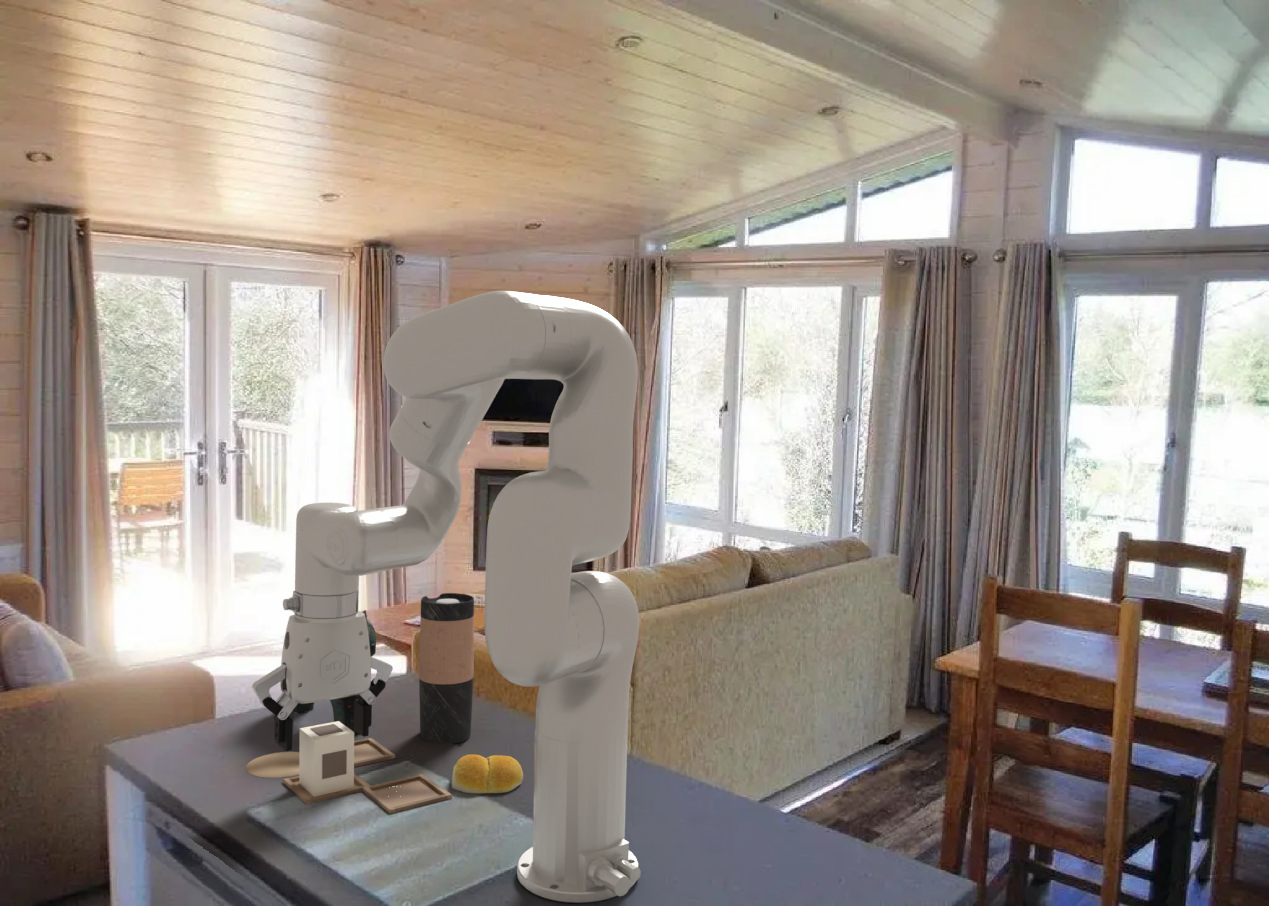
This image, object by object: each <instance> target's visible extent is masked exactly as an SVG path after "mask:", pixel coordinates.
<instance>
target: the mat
mask: <svg viewBox="0 0 1269 906" xmlns="http://www.w3.org/2000/svg"><path fill="white" fill-rule="evenodd" d="M299 752H300V751H281V752H279V751H278V752H273V753H269V754H268V753H267V754H264V755H261V756H258V757H256V758H253V759H252V760H250V761H249V762H248V763H247V764H246V766H245V770H246V772H247V773H248V774H250V775H253V776H256V777H260V778H271V779H272V778H275V779H276V778H277V779H279V778H286V777H287V778H289V777H295V776H299Z"/></svg>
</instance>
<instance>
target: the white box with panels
mask: <svg viewBox="0 0 1269 906" xmlns="http://www.w3.org/2000/svg"><path fill="white" fill-rule="evenodd" d="M354 741H355V734H354V732H353V731H352V730H350V729H349V728H348V727H346V726H345V725H343V724H342V723H341V722H339V721H336V722H334V721H331V722H325V723H321V724H316V725H315V724H314V725H311V726H305V727H299V751H298V752H299V774H298V776H299V784H300V785H302V786H303V787H304V788H305V789H306V790H307V791H308V792H309V793H310V794H311V795H313V796H314V797H315V796H319V795H324V794H328V793H333V792H337V791H341V790H346V789H350V788H354V773H355V767H354Z"/></svg>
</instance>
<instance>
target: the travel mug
mask: <svg viewBox="0 0 1269 906" xmlns="http://www.w3.org/2000/svg"><path fill="white" fill-rule="evenodd" d="M419 620H420V624H419V626H420V629H419V630H420V632H419V667H418V668H419V671H418V684H419V685H418V686H419V693H418V694H419V733H420V734H419V735H420V737H421V738H422V739H423V740H426V741H429V742H434V743H435V742H436V743H452V744H454V745H455V744H459V743H462V742H465V741H467V740H469V738H470V737H471V734H472V717H473V700H474V699H473V694H474V676H475V675H474V674H475V673H474V670H475V669H474V668H475V667H474V666H475V665H474V661H475V659H474V657H475V654H474V653H475V651H474V649H475V648H474V647H475V598H474V596H472V595H469V594H464V593H457V592H456V593H454V592H445V593H441V594H440V595H439V596H437V597H431V598H430V597H428V595H424V596H423V597H421V599H420V619H419Z"/></svg>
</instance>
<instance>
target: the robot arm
mask: <svg viewBox="0 0 1269 906" xmlns="http://www.w3.org/2000/svg"><path fill="white" fill-rule="evenodd" d="M637 358H638V357H637V353H636V349H635V345H634V343H633V341H632V339H631V336H630V335H629V333H628V332H627V330H626V329H625V327H624V326H623V325H622V323H620V322H619V320H617V319H616V318H615V317H614V316H612V315H611V314H610V313H609V312H607V311H605V310H603V309H601V308H600V307H598V306H595V305H593V304H590V303H588V302H583V301H580V300H577V299H572V298H566V297H560V296H556V295H555V296H553V295H542V294H535V293H528V292H521V291H520V292H519V291H516V290H515V291H513V290H512V291H511V290H495V291H494V290H493V291H488V292H484V293H480V294H477V295H473V296H471V297H468V298H464V299H462V300H459V301H457V302H456V301H455V302H454V303H451V304H448V305H446V306H445V305H444V306H441V307H439V308H435V309H433V310H430V311H427V312H423V313H421V314H419V315H416V316H414V317H411V318H410V319H408V320H407V321H405V322H404V323H402V324H401V325H400V326H399V327H398V328H397V329H396V330H395V331H394V332H393V333H392V335H391V336H390V338H389V339H388V343H387V344H386V347H385V350H384V354H383V363H382V364H383V371H384V375H385V378H386V381H387V383H388V384H389V386H390V387H391V388H392V389H393V390H394V391H395V393H397V394H399V395H400V396H401V397H405V399H404V401H403V403H402V405H401V407H400V408H399V410H398V411H397V414H396V416H395V418H394V419H393V421H392V424H391V425H390V428H389V434H388V436H389V440H390V442H391V445H392V447H393V449H394V450H396V452H397V453H398V455H400V456H401V458H403V459H405V460H406V461H407V462H409V464H411V465H413V466H415V467H416V468H418V469H419V473H418V477H417V479H416V481H415V483H414V484H413V487H412V489H411V491H410V492H409V494H408V496H407V497H406V500H405V501H404V502H403V504H402V505H393V506H385V507H375V508H370V509H362V510H358V508H357V507H355V506H354V505H351V504H349V503H340V502H316V503H315V502H314V503H308V504H305V505H303V506H302V507H301V508H300V509H299V510H298V512H297V514H296V522H295V559H294V560H295V564H294V566H295V567H294V569H295V570H294V571H295V572H294V590H293V591H292V597H291V596H290V597H288V598H284V599H283V601H282V608H283V610H284V611H292V612H293V615H292V614H291V615H289V617H288V621H287V625H286V629H285V633H284V639H283V644H282V652H281V653H282V654H281V661H280V665H279V666H278V667H276V668H274V670H271V671H270V672H269V673H267V674H265V675H264V676H262V677H260V678H259V679H258V680H256V681H255V682H253V684H251V686H252V687H251V688H252V690H253V692H254V693H255V695H256V697H257V698H258V699H259V703H260V704H261V705H262V706H263V707H265V709H267V710H268V711H269V712H271V713H272V714H273V715H274V741H275V743H276V744H277V745H278V746H279V747H280V748H281V749H282V750H283V751H284V752H292V751H291V750H292V749H293V734H294V733H293V732H294V728H293V727H294V725H293V724H294V720H293V718H292V717H290V715H291V713H292V712H293V711H292V710H293V709H294V708H295V707H296V705H297V704H298V703H312V702H314V703H319V702H324V701H330V700H331V699H337V698H343V697H349V696H354V695H357V696H358V699H355V702H354V730H355V731H356V732H357V734H359V735H360V736H362V737H363V738H364V737H368V736H369V732H370V731H369V729H370V728H369V727H372V717H373V712H372V711H373V710H372V709H373V705H374V704H375V703H376V701H377V697H378V696H380V695H381V693H382V691H383V690H384V689H385V688H386V685H387V682H388V680H389V678H390V676H391V674H392V671H394V668H393V665H391V664H389V663H388V662H386V661H383V660H380V659H378V658H376V657H373V656H372V657H371V656H370V644H369V635H368V628H367V622H366V617H365V614H364V613H362V612H363V611H360V610H359V601H360V600H359V599H360V597H359V595H360V576H361V577H362V576H367V575H373V574H377V573H382V572H386V571H390V570H395V569H400V568H408V567H411V566H412V567H413V566H416V565H418V564H421V563H423V562H425V561H426V560H428V559H429V558H430V557H431V556H433V554H434V553H435V552H436V551H437V549H438V548H439V546H440V545H441V543H442V542H443V540H444V539H445V538H446V535H447V534H448V532H449V530H450V528H451V527H452V525H453V523H454V522H455V520H456V517H457V516H458V513H459V510H460V506H461V502H462V486H463V484H462V482H463V481H462V474H461V470H460V466H459V462H460V460H461V458H462V457H463V454H464V453H465V450H466V449H467V448H468V446H469V445H470V442H471V440H472V438H473V437H474V435H475V433H476V431H477V429H478V427H479V426H480V425H481V422H482V421H483V420H484V417H485V415H486V413H487V412H488V410H489V408H490V407H491V405H492V403H493V401H494V399H495V398H496V395H497V394H498V392H499V390H500V389H501V387H502V386H503V384H504V381H505V380H506V379H507V380H511V379H513V380H515V379H516V380H518V379H519V380H555V381H557V382H558V381H559V382H561V384H563V389H562V391H561V392H560V395H559V396H558V399H557V401H556V403H555V405H554V408H553V411H552V414H551V418H550V423H549V429H548V457H547V465H546V470H539V471H538V470H537V471H534V472H533V471H532V472H528V473H525V474H522V475H519V476H518V477H517V476H516V477H515V478H513V479H511V480H510V481H509V482H507V484H506V485H504V487H503V488H502V489H501V491H499V493H498V494H497V496H496V498H495V500H494V501H493V504H492V507H491V509H490V513H489V516H488V521H487V528H486V547H485V548H486V549H485V551H486V552H485V574H484V575H485V577H484V579H485V582H484V583H485V584H484V585H485V586H484V616H483V617H484V619H483V620H484V621H483V622H484V624H483V625H484V637H485V638H484V639H485V644H486V645H485V646H486V648H487V652H488V656H489V658H490V659H491V662H492V664H493V666H494V668H495V669H496V670H497V672H498V673H499V674H500V675H501V676H502V677H503V678H504V679H505V680H507V681H508V682H510V683H512V684H514V685H517V686H521V687H537V686H538V692H537V699H536V705H535V725H534V727H535V729H534V764H533V766H534V767H533V768H534V769H533V773H534V774H533V775H534V776H533V821H532V822H533V824H532V825H533V826H532V846H531V847H530V848H528V849H527V850H525V851H524V852H523V854H521V856H520V857H519V859H518V861H517V866H516V873H517V879H518V881H519V883H520V884H521V885H522V886H523V888H525V889H526V890H528V891H529V892H531V893H532V894H534V895H536V896H539V897H542V898H544V899H548V900H551V901H557V902H564V903H574V904H575V903H576V904H577V903H578V904H579V903H580V904H581V903H594V902H600V901H601V902H602V901H604V900H608V899H612V898H614V897H617V896H618V897H622V896H625V895H626V894H628V892H629V890H630V889H631V888H632V887H633V886H634V885H635V883H636V882H637V881H638V880H639V879H640V877H641V875H642V871H641V869H640V868H639V867H640V866H639V865H640V864H639V861H638V859H637V857H636V855H635V854H634V853H633V852H632V851H630V842H629V840H626V839H625V836H626V835H625V834H626V802H627V801H626V800H627V799H626V798H627V795H626V794H627V764H628V762H627V761H628V760H627V759H628V729H629V708H630V707H629V703H630V690H631V689H630V687H631V679H632V671H633V665H634V660H635V656H636V651H637V645H638V640H639V633H640V612H639V607H638V604H637V601H636V599H635V596H634V594H633V593H632V591H631V590H630V588H629V586H627V585H626V583H625V582H623V580H621V579H619V578H618V577H617V576H615V575H613V574H610V573H609V572H604V571H595V570H585V571H578V572H573V573H572V569H573V568H572V567H573V566H575V565H576V566H577V565H579V564H584V563H588V562H593V561H596V560H600V559H604V558H606V557H608V556H610V555H612V554H614V553H615V552H617V551H618V550H620V549H621V547H622V546H624V543H625V542H626V540H627V537H628V534H629V530H630V525H631V524H630V523H631V512H632V511H631V510H632V508H631V506H632V485H633V484H632V483H633V482H632V481H633V480H632V479H633V459H634V458H633V457H634V447H633V446H634V445H633V444H634V442H633V441H634V440H633V439H634V419H635V409H636V400H637V399H636V398H637V392H638V376H639V375H638V374H639V373H638V372H639V368H638V367H639V365H638V359H637ZM372 669H373V670H375V671H376V674H375V676H374V678H373V679H372ZM279 683H280V690H281V692H282V693H281V694H280V695H279V697H278V698H277V699H276V700H274V698H273V697H272V695H271V693H270V689H271V688H273V687H275V686H276V685H277V684H279Z"/></svg>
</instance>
